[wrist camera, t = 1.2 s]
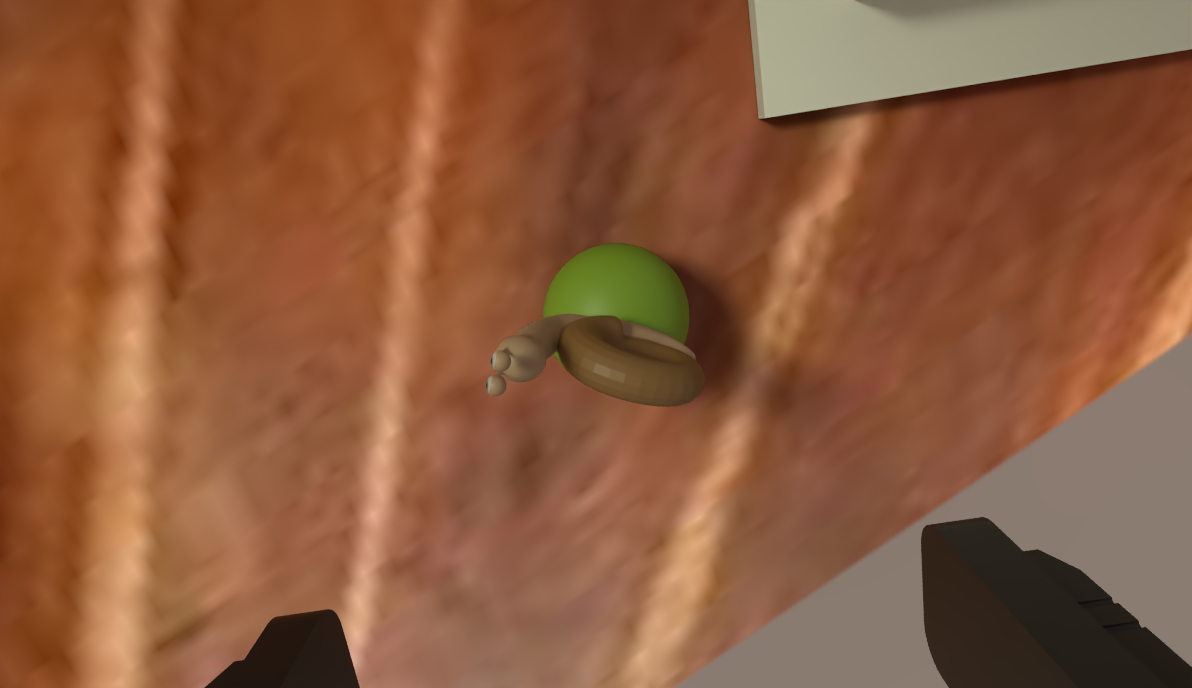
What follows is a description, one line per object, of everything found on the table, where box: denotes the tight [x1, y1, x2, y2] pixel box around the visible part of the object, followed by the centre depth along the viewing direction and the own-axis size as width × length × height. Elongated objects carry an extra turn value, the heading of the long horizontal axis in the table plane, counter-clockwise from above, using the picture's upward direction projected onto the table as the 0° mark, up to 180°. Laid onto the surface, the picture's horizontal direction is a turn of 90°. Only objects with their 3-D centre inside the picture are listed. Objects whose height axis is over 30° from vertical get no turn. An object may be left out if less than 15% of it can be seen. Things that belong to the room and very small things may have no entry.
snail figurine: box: [486, 243, 705, 407], centre depth 24 cm, size 5×6×12 cm
